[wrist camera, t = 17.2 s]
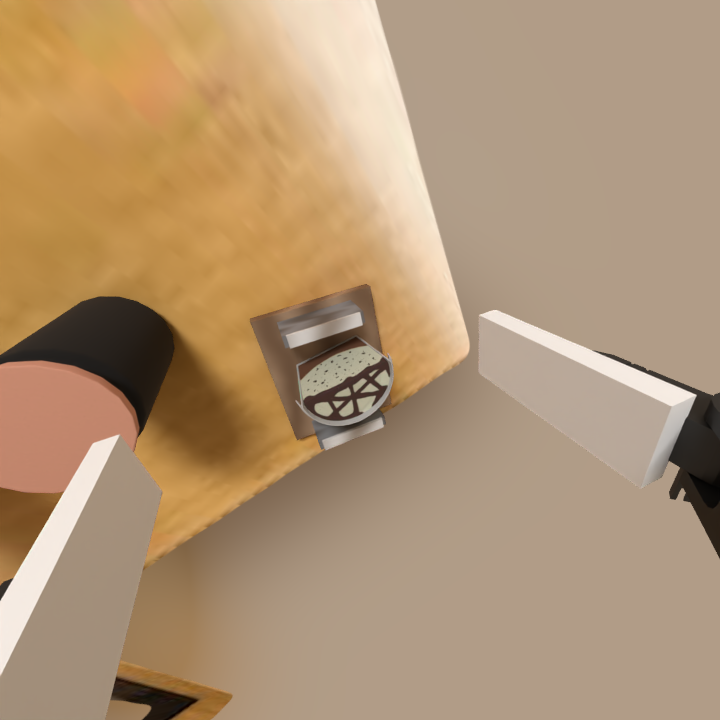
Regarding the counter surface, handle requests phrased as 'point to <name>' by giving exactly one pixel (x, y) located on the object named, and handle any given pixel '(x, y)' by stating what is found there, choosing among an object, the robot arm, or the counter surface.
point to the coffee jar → (78, 389)
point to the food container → (344, 382)
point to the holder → (310, 337)
